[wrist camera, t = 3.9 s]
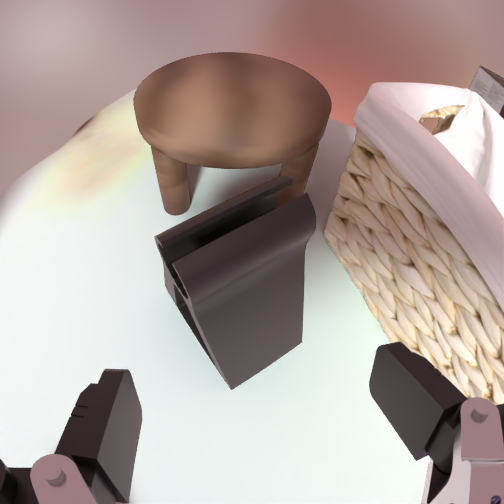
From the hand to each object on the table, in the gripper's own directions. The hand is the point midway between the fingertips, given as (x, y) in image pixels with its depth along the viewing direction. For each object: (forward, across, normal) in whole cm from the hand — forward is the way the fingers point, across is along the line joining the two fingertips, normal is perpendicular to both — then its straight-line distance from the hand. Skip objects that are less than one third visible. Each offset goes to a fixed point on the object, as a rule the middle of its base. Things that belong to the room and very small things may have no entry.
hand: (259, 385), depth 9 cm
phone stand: (+12, 0, +4) cm, 13 cm away
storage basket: (+12, -18, +4) cm, 22 cm away
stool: (+23, -1, -7) cm, 24 cm away
